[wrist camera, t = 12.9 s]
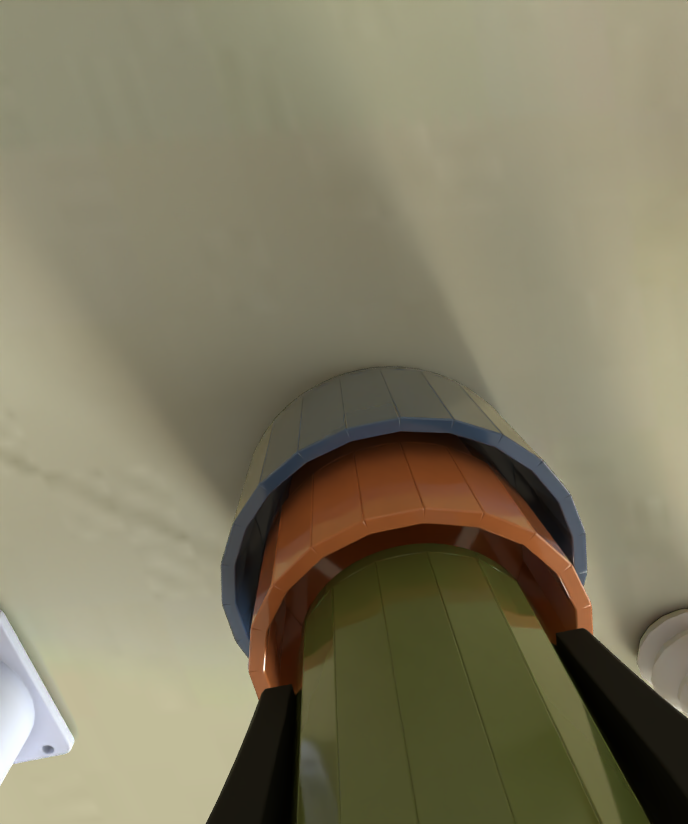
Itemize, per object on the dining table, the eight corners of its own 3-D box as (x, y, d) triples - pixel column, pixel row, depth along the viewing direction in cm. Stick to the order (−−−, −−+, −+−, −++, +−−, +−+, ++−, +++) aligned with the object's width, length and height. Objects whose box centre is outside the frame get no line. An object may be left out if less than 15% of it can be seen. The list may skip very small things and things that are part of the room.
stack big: (283, 631, 21) (273, 747, 16) (210, 400, 17) (170, 464, 13) (531, 583, 21) (592, 687, 16) (508, 337, 17) (580, 380, 12)
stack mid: (303, 605, 21) (294, 802, 14) (250, 423, 18) (204, 551, 11) (502, 566, 20) (598, 746, 13) (480, 375, 18) (587, 474, 10)
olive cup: (327, 743, 14) (333, 1108, 8) (273, 569, 12) (229, 893, 6) (540, 703, 13) (699, 1048, 8) (523, 519, 11) (721, 803, 6)
